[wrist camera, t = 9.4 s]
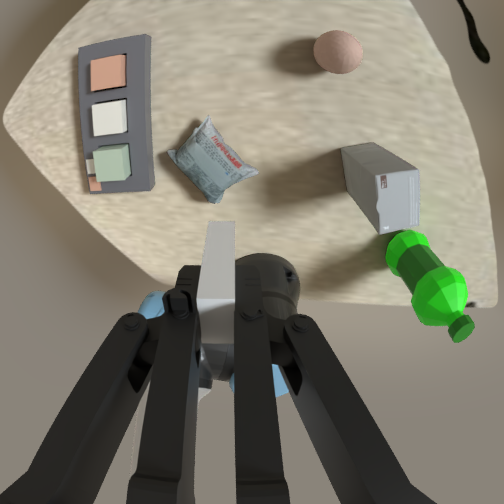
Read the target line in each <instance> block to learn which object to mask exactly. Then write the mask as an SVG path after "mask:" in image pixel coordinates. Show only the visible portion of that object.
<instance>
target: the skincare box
mask: <svg viewBox="0 0 504 504" xmlns="http://www.w3.org/2000/svg"><path fill="white" fill-rule="evenodd" d="M341 155H342V161H343V167H344V174H345V180H346V187H347V192H348V193H349V195H350V196H351V197H352V198H353V200H354V201H355V202H356V204H357V205H358V206H359V207H360V209H361V210H362V211H363V213H364V214H365V215H366V217H367V218H368V220H369V221H370V222H371V224H372V225H373V226H374V228H375V229H376V231H377V232H378V233H379V235H381V234H385V233H389V232H393V231H397V230H401V229H406V228H411V227H415V226H419V217H420V175H419V169H417V168H416V167H414V166H413V165H411V164H409V163H408V162H406V161H405V160H403V159H401V158H400V157H398V156H396V155H395V154H393V153H391V152H390V151H388V150H386V149H384V148H383V147H381V146H379V145H377V144H376V143H367V144H361V145H355V146H349V147H343V148H341Z"/></svg>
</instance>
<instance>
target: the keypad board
mask: <svg viewBox="0 0 504 504" xmlns="http://www.w3.org/2000/svg"><path fill="white" fill-rule="evenodd" d="M115 55H127V67H126V76H127V87H125V88H119V89H112V90H106V91H102V90H95V91H91V60H96V59H100V58H105V57H110V56H115ZM150 68H151V36H149V35H147V34H142V35H136V36H130V37H124V38H119V39H114V40H109V41H104V42H100V43H96V44H92V45H88V46H84V47H80V48H79V51H78V82H79V106H80V120H81V132H82V142H83V150H84V158H85V166H86V173H87V179H88V185H89V191H90V194H98V193H116V192H138V191H151V190H152V188H153V187H154V185H155V176H154V163H153V147H152V128H151V90H150ZM121 98H127V114H128V130H127V131H125V132H123V133H116V134H107V135H99V136H94V130H93V116H92V105H95V104H99V103H103V101H107V100H114V99H121ZM120 143H129V146H130V158H131V169H132V173H131V174H130V175H129V176H128V177H127V178H126V179H125V180H118V181H103V182H97V180H96V173H95V165H94V157H93V151H95V150H97V149H98V148H100V147H102V146H103V145H110V144H120Z"/></svg>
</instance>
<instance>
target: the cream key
mask: <svg viewBox="0 0 504 504" xmlns="http://www.w3.org/2000/svg"><path fill="white" fill-rule="evenodd" d="M92 116H93V130H94V136H99V135H107V134H116V133H123V132H125V131H127V130H128V114H127V99H124V100H116V101H109V102H103V103H99V104H95V105H92Z"/></svg>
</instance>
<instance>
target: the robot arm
mask: <svg viewBox="0 0 504 504" xmlns="http://www.w3.org/2000/svg"><path fill="white" fill-rule="evenodd" d="M299 295H300V281H299V277H298V274H297V272H296V270H295V268H294V267H293V265H292V264H291V263H290V262H288V261H287V260H285V259H284V258H282V257H279V256H277V255H273V254H265V253H260V254H253V255H249V256H246V257H243V258H241V259H239V260H237V261H236V262H235V221H209V223H208V229H207V235H206V241H205V247H204V253H203V259H202V265H201V266H200V265H184V266H183V267H182V269H181V270H180V271H179V273H178V277H177V281H176V285H175V288H173V289H171V290H168V291H167V292H164V291H153V292H151V293H150V294H149V295H147V296H146V298H145V299H144V301H143V302H142V304H141V306H140V308H139V310H138V313H133V312H132V313H128V314H126V315H124V316H122V317H121V318H120V319H119V320H118V322H117V323H116V324H115V326H114V327H113V329H112V330H111V331H110V333H109V334H108V336H107V337H106V339H105V340H104V342H103V343H102V345H101V346H100V348H99V350H98V351H97V352H96V354H95V355H94V357H93V359H92V360H91V362H90V363H89V365H88V366H87V368H86V369H85V371H84V373H83V374H82V376H81V378H80V379H79V381H78V382H77V384H76V385H75V387H74V389H73V390H72V392H71V394H70V396H69V397H68V398H67V400H66V402H65V404H64V405H63V407H62V409H61V410H60V412H59V414H58V415H57V417H56V419H55V421H54V422H53V424H52V426H51V428H50V429H49V432H48V433H47V435H46V437H45V438H44V440H43V442H42V444H41V446H40V448H39V450H38V451H37V453H36V456H35V457H34V459H33V461H32V463H31V465H30V467H29V469H28V471H27V472H26V473H25V474H24V475H22V476H21V477H20V478H19V479H18V480H17V481H15V482H14V483H13V484H12V485H11V486H10V487H8V488H7V489H6V490H5V491H4V492H3V493H2V494H0V504H93V503H94V501H95V499H96V497H97V494H98V492H99V489H100V487H101V485H102V483H103V481H104V478H105V476H106V474H107V471H108V469H109V467H110V465H111V463H112V460H113V458H114V456H115V454H116V452H117V449H118V447H119V445H120V443H121V441H122V439H123V436H124V434H125V432H126V430H127V428H128V426H129V424H130V421H131V419H132V417H133V415H134V413H135V411H136V409H137V407H138V411H137V417H136V425H135V433H134V441H133V450H132V459H131V471H130V480H129V484H128V491H127V500H126V504H195V497H194V466H195V442H196V441H195V440H196V421H197V411H198V404H199V400H200V399H201V398H202V397H204V396H205V395H206V394H208V393H209V392H210V391H211V388H212V381H213V379H214V380H221V381H227V382H229V384H230V388H231V389H232V391H233V393H234V412H235V459H236V460H235V465H236V499H237V504H290V497H289V490H288V485H287V482H286V480H285V478H284V471H283V462H282V453H281V443H280V433H279V424H278V415H277V405H276V397H278V396H281V395H283V394H286V393H288V392H290V395H291V397H292V399H293V402H294V404H295V406H296V408H297V410H298V412H299V415H300V417H301V419H302V421H303V423H304V426H305V428H306V430H307V432H308V434H309V437H310V439H311V441H312V443H313V445H314V448H315V450H316V452H317V454H318V456H319V458H320V461H321V463H322V465H323V467H324V469H325V471H326V473H327V475H328V477H329V480H330V482H331V484H332V486H333V488H334V490H335V492H336V495H337V496H338V499H339V501H340V503H341V504H437V503H435V502H434V501H432V500H431V499H430V498H429V497H427V496H426V495H425V494H423V493H422V492H421V491H419V490H418V489H417V488H416V487H414V486H413V485H412V484H411V483H410V481H409V480H408V478H407V476H406V474H405V473H404V471H403V469H402V467H401V466H400V464H399V462H398V460H397V459H396V457H395V455H394V453H393V452H392V450H391V448H390V446H389V445H388V443H387V441H386V440H385V438H384V436H383V435H382V433H381V431H380V429H379V428H378V426H377V424H376V423H375V421H374V419H373V417H372V416H371V414H370V412H369V411H368V409H367V407H366V405H365V404H364V402H363V400H362V399H361V397H360V395H359V394H358V392H357V390H356V389H355V387H354V385H353V384H352V382H351V380H350V379H349V377H348V375H347V373H346V372H345V370H344V368H343V367H342V365H341V364H340V362H339V360H338V358H337V357H336V355H335V354H334V352H333V350H332V348H331V347H330V345H329V344H328V342H327V341H326V339H325V337H324V335H323V334H322V332H321V330H320V329H319V327H318V326H317V324H316V322H315V321H314V320H313V319H312V318H311V317H309V316H307V315H302V314H298V313H297V303H298V299H299Z"/></svg>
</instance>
